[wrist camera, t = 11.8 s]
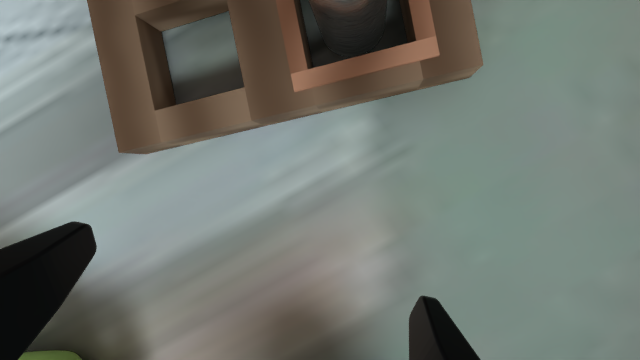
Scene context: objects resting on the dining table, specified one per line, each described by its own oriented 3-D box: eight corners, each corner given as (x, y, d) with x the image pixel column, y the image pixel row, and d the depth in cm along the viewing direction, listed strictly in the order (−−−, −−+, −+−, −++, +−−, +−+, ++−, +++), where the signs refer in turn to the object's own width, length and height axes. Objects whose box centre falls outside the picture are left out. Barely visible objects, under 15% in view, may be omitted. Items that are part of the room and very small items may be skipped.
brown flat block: (436, -89, 19) (447, -130, 16) (469, 77, 19) (484, 63, 17) (117, 15, 23) (83, -5, 20) (146, 154, 23) (116, 152, 20)
